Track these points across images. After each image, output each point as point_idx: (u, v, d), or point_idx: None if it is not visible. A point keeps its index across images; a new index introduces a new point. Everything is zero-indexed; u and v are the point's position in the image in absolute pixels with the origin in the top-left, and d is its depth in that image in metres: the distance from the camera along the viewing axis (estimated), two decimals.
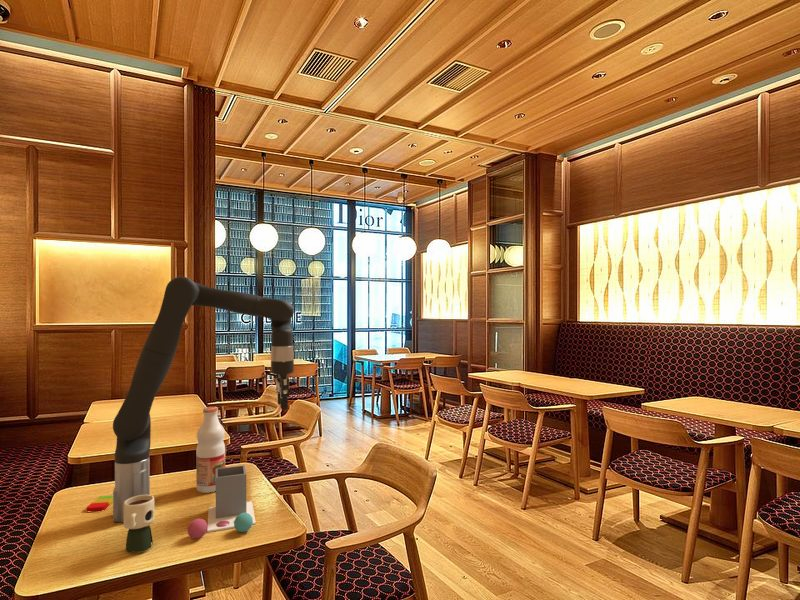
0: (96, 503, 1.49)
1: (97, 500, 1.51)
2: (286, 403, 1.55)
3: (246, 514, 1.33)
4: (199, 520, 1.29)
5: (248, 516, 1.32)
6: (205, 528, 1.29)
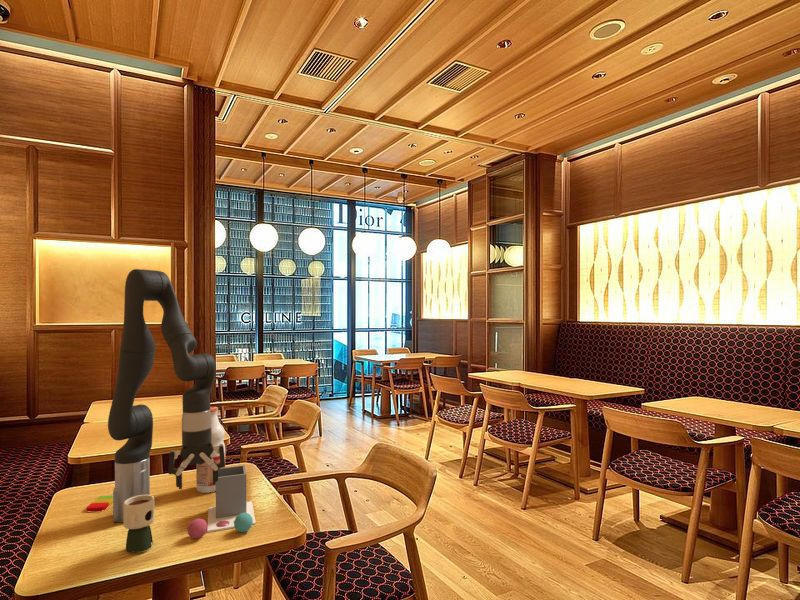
0: (96, 503, 1.49)
1: (97, 500, 1.51)
2: None
3: (246, 514, 1.33)
4: (199, 520, 1.29)
5: (248, 516, 1.32)
6: (205, 528, 1.29)
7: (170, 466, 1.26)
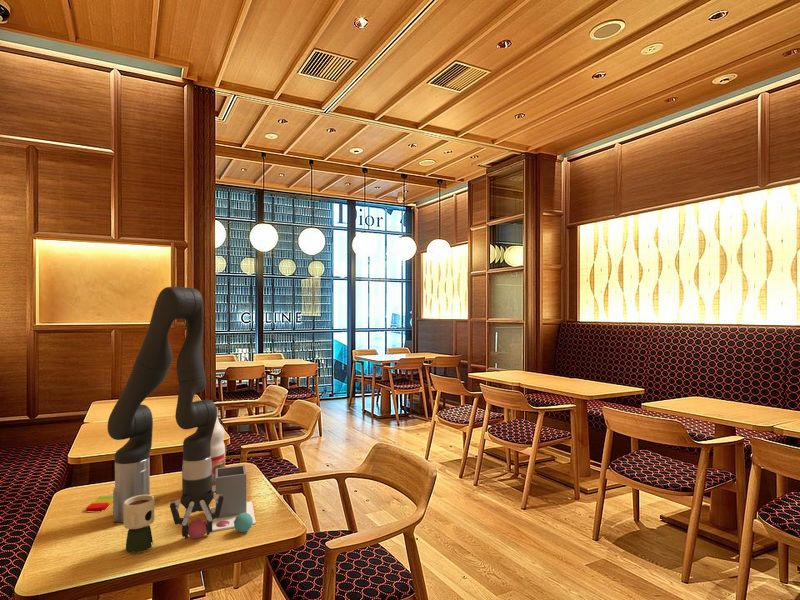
0: (96, 503, 1.49)
1: (97, 500, 1.51)
2: None
3: (246, 514, 1.33)
4: (199, 520, 1.29)
5: (248, 516, 1.32)
6: (205, 528, 1.29)
7: (174, 517, 1.26)
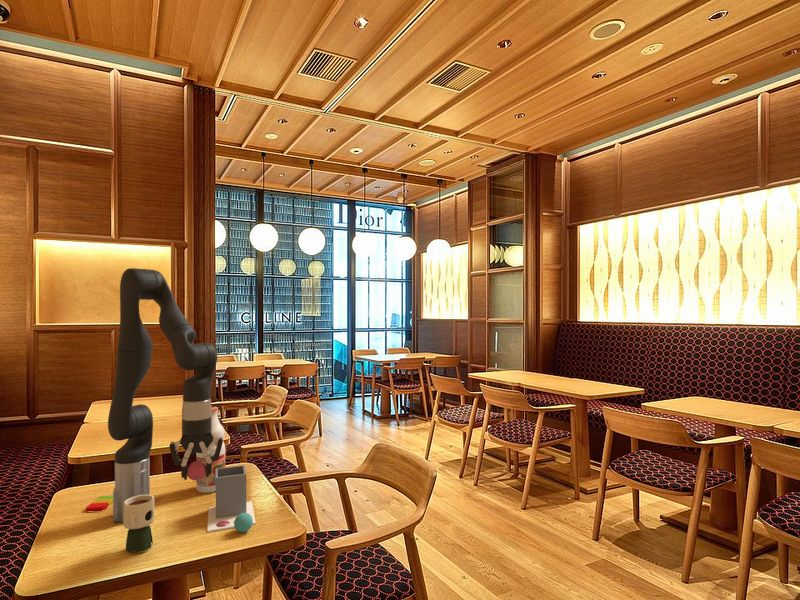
0: (95, 503, 1.49)
1: (97, 500, 1.51)
2: None
3: (246, 514, 1.33)
4: (198, 462, 1.29)
5: (248, 516, 1.32)
6: (204, 470, 1.29)
7: (174, 457, 1.26)
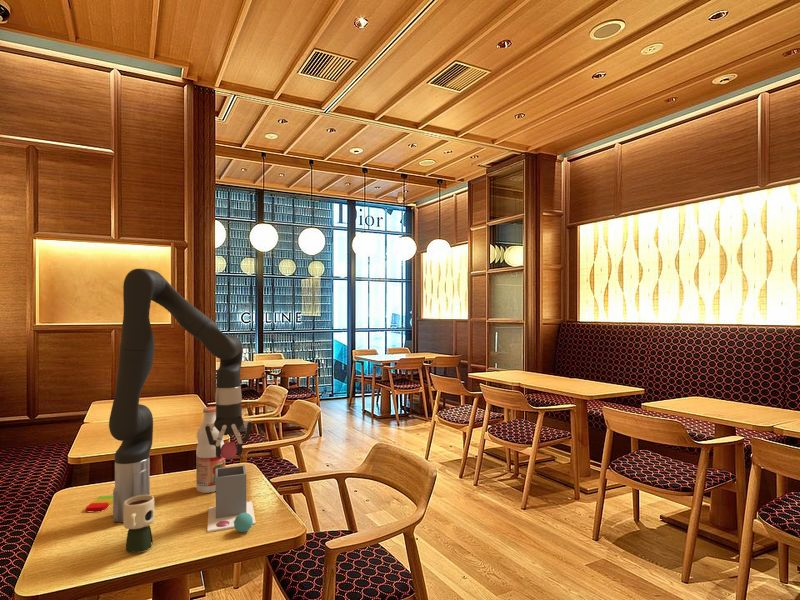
0: (95, 503, 1.49)
1: (96, 500, 1.51)
2: None
3: (246, 514, 1.33)
4: (230, 443, 1.44)
5: (248, 516, 1.32)
6: (236, 450, 1.44)
7: (209, 438, 1.41)
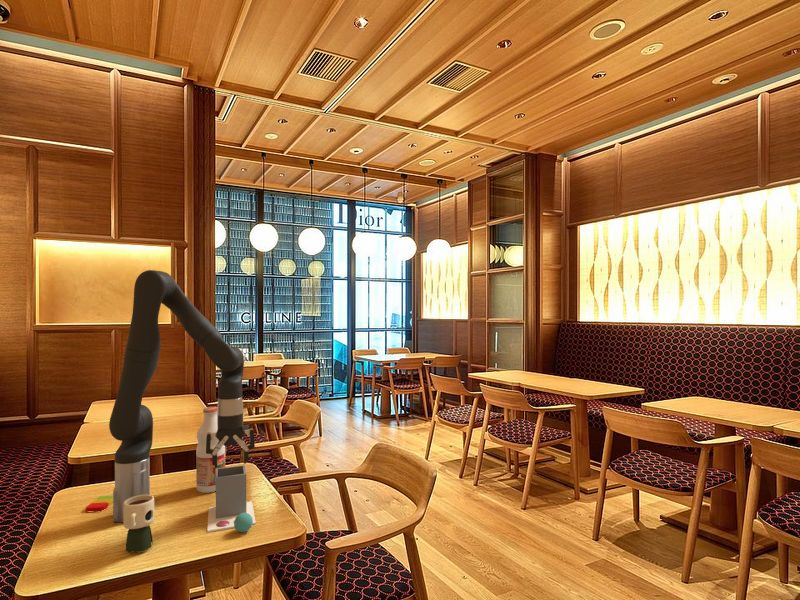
0: (95, 503, 1.49)
1: (96, 500, 1.51)
2: None
3: (246, 514, 1.33)
4: None
5: (248, 516, 1.32)
6: None
7: (207, 446, 1.42)
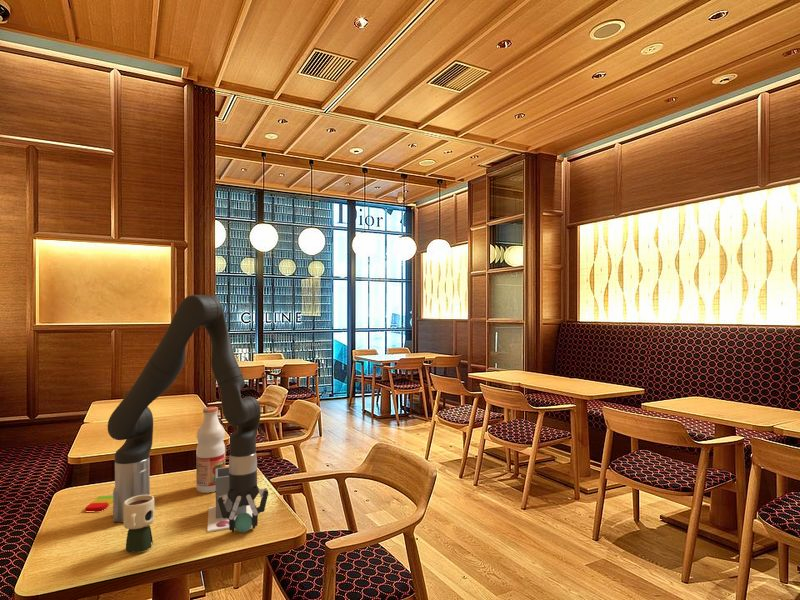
0: (95, 503, 1.49)
1: (96, 500, 1.51)
2: None
3: (246, 514, 1.33)
4: None
5: (248, 516, 1.32)
6: None
7: (222, 511, 1.30)
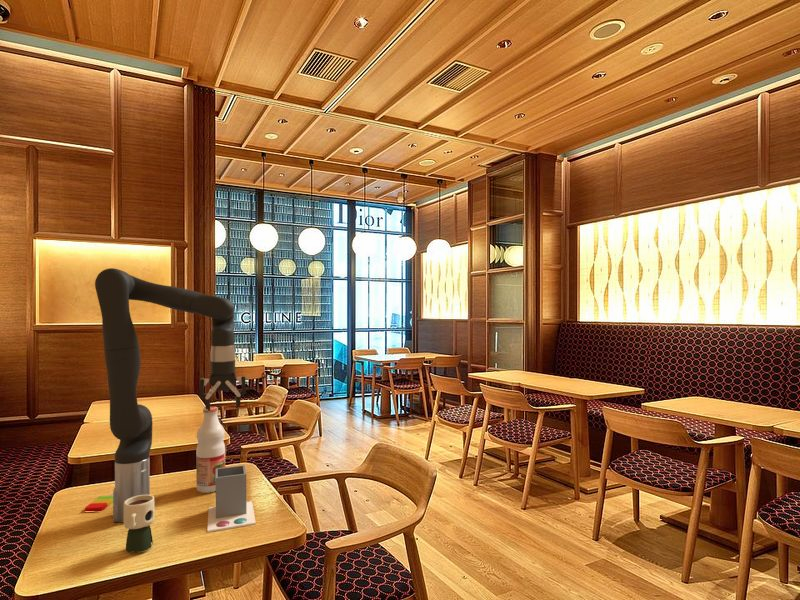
0: (94, 503, 1.49)
1: (96, 500, 1.51)
2: None
3: None
4: None
5: None
6: None
7: (201, 391, 1.49)
